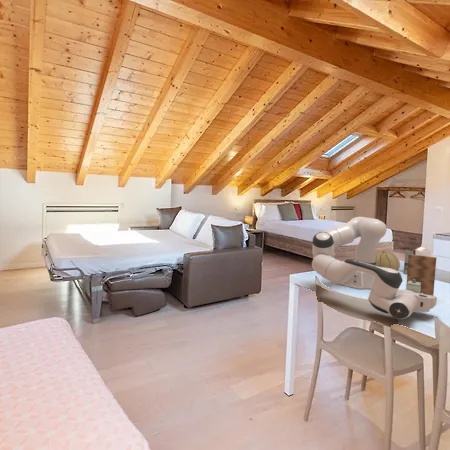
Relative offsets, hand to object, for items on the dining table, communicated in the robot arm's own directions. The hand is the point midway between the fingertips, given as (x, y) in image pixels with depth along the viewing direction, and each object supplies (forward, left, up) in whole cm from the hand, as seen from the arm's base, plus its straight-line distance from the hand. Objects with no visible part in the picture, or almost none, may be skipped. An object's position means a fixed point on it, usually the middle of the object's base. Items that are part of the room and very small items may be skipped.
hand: (413, 292), depth 161 cm
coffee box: (-13, +67, -7) cm, 69 cm away
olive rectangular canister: (0, -1, -7) cm, 7 cm away
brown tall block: (0, +15, -7) cm, 17 cm away
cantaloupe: (-25, +54, -7) cm, 60 cm away
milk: (-5, +51, -7) cm, 52 cm away
